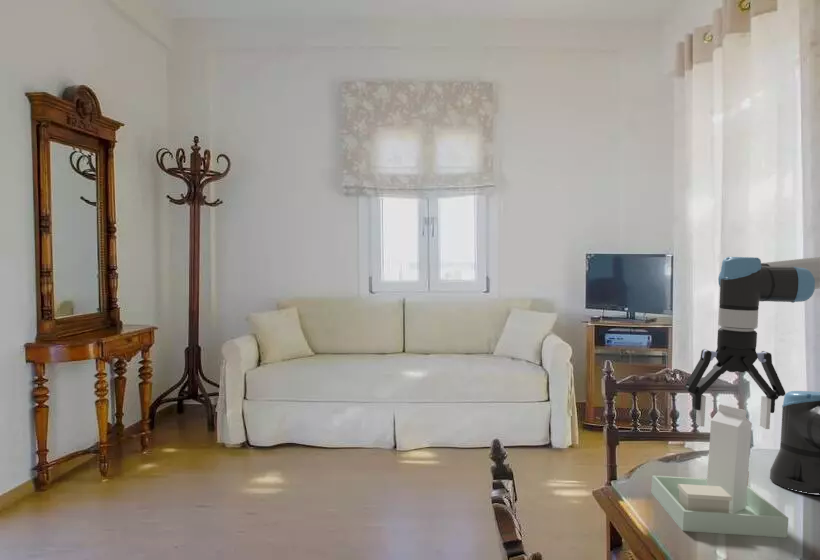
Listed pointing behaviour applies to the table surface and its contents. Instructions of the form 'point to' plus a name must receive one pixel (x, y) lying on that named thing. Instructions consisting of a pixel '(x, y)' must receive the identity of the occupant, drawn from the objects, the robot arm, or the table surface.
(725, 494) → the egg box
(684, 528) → the tray
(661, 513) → the table surface
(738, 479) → the milk
